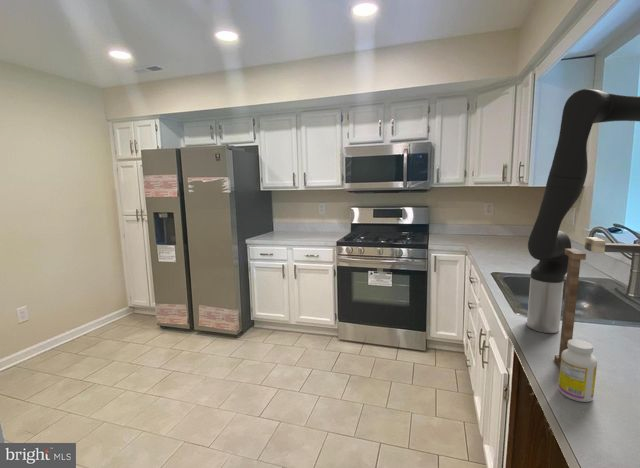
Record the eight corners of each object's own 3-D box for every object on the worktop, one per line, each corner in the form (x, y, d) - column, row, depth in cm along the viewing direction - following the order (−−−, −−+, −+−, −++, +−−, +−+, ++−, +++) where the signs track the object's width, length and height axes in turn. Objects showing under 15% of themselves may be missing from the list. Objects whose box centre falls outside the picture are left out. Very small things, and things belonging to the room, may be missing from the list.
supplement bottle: (577, 385, 83) (583, 336, 81) (600, 402, 77) (607, 350, 75) (551, 386, 83) (555, 337, 81) (572, 403, 76) (577, 351, 74)
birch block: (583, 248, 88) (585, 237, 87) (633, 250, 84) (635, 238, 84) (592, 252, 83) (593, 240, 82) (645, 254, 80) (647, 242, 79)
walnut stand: (554, 359, 95) (565, 248, 89) (564, 360, 94) (576, 248, 89) (562, 371, 89) (574, 253, 84) (573, 372, 88) (586, 253, 83)
